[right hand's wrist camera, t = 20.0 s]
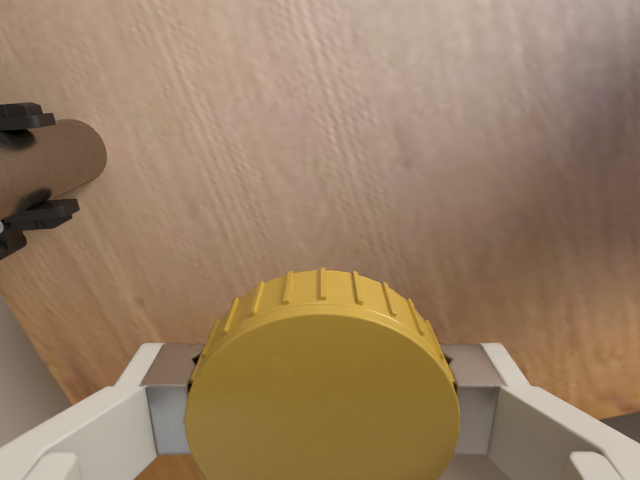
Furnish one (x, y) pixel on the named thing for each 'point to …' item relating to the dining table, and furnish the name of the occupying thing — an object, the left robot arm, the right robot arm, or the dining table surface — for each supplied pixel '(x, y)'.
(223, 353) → the lid
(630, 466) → the right robot arm
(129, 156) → the dining table surface
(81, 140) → the brown cylinder
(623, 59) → the dining table surface
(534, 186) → the dining table surface
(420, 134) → the dining table surface
